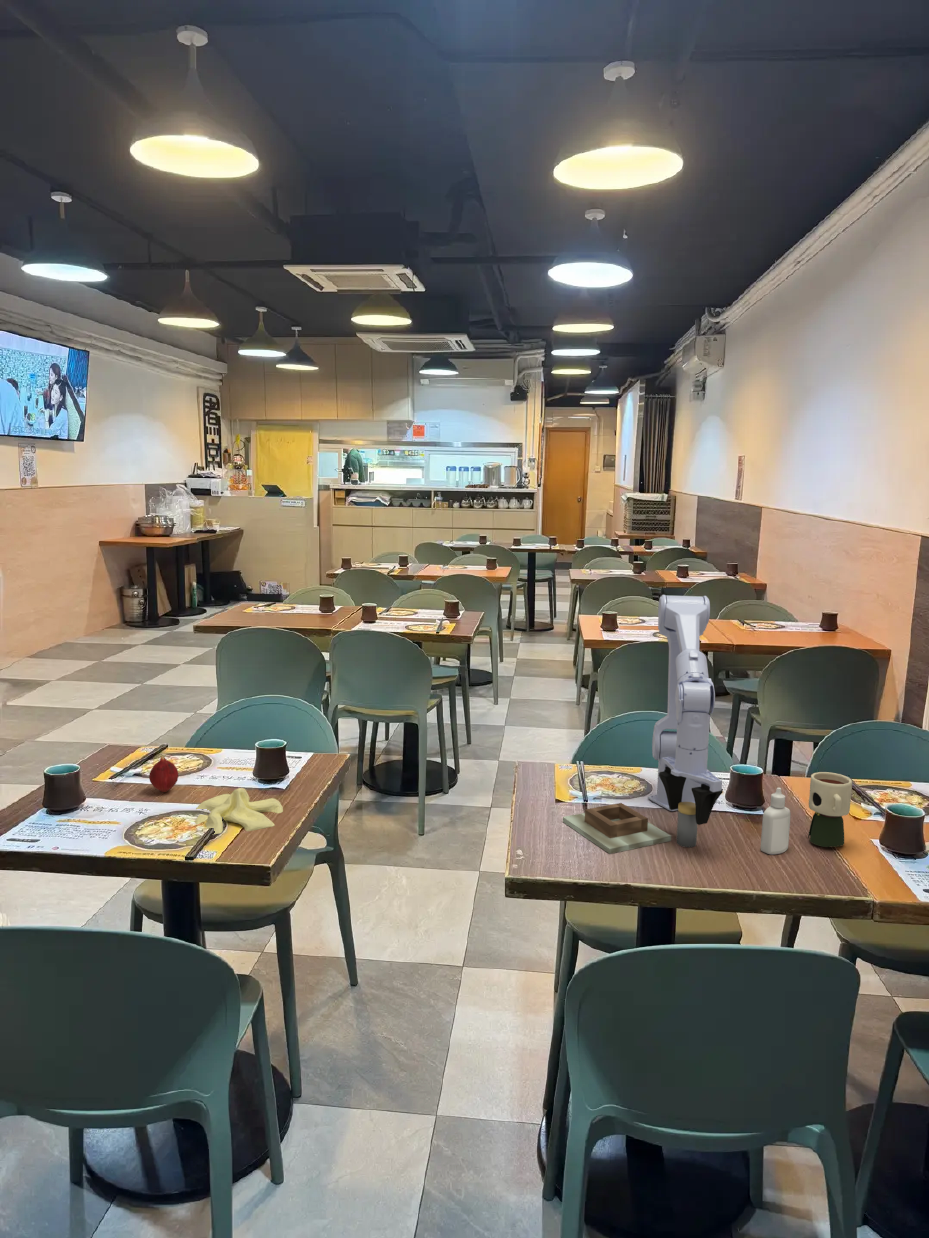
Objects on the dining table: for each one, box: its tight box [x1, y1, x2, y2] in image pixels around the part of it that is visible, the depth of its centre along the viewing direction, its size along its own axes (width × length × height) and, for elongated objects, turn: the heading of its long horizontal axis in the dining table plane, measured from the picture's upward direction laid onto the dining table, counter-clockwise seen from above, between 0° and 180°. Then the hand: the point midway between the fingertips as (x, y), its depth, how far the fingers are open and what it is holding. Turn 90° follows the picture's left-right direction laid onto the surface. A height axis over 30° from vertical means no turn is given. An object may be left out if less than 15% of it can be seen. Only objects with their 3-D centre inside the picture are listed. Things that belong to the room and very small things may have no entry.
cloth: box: [193, 787, 284, 835], centre depth 166 cm, size 22×19×6 cm
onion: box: [148, 755, 179, 793], centre depth 179 cm, size 6×6×8 cm
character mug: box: [807, 771, 853, 848], centre depth 157 cm, size 11×7×13 cm, turn 172°
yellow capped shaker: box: [676, 802, 698, 848], centre depth 157 cm, size 4×4×8 cm
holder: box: [562, 802, 672, 855], centre depth 162 cm, size 14×16×4 cm
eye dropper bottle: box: [760, 787, 791, 855], centre depth 154 cm, size 4×6×12 cm
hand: (688, 815), depth 156 cm, fingers open, 7 cm apart
